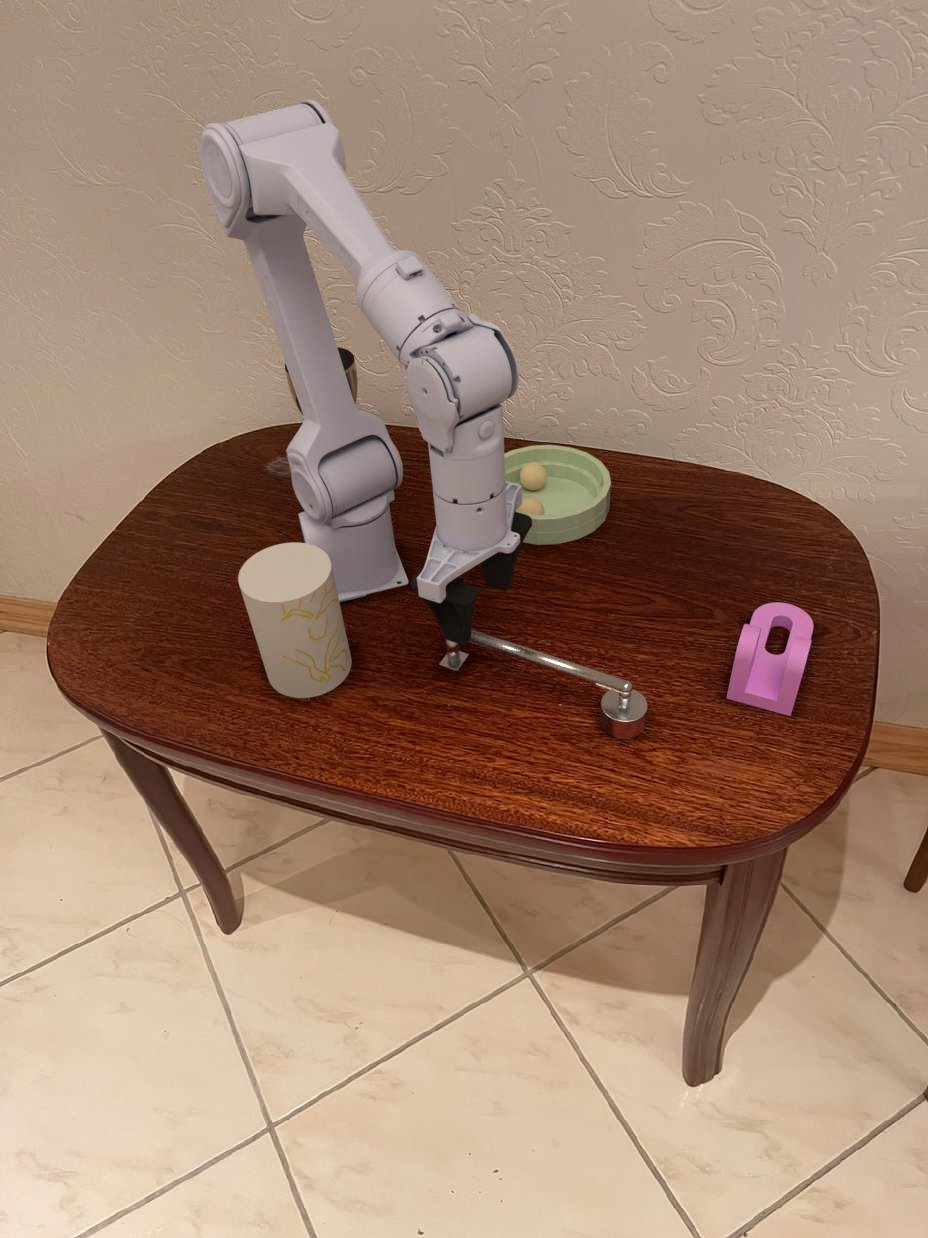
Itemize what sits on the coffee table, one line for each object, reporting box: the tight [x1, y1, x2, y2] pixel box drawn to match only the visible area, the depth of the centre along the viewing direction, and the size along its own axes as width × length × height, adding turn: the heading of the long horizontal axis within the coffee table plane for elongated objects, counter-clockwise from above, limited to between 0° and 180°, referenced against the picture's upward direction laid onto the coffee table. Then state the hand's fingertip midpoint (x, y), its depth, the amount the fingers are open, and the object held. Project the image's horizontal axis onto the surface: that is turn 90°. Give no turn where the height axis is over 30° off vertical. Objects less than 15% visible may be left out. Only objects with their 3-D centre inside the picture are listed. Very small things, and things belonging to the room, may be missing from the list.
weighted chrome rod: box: [438, 629, 649, 740], centre depth 80 cm, size 20×4×5 cm, turn 61°
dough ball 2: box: [516, 498, 545, 515], centre depth 98 cm, size 3×3×3 cm
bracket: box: [725, 602, 814, 717], centre depth 80 cm, size 13×6×7 cm, turn 155°
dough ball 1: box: [520, 463, 547, 490], centre depth 103 cm, size 3×3×3 cm
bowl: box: [504, 444, 612, 546], centre depth 101 cm, size 15×15×4 cm
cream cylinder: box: [237, 542, 353, 699], centre depth 82 cm, size 8×8×12 cm
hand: (478, 612), depth 78 cm, fingers open, 7 cm apart
